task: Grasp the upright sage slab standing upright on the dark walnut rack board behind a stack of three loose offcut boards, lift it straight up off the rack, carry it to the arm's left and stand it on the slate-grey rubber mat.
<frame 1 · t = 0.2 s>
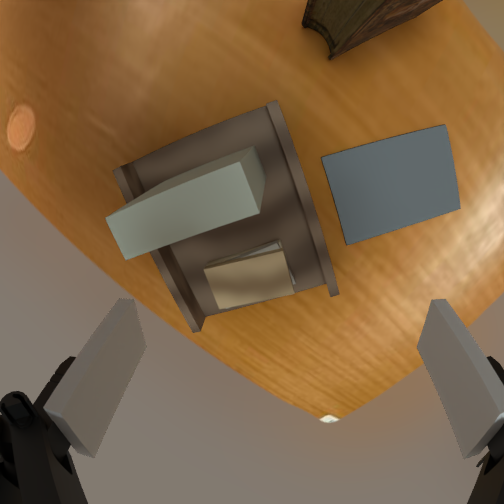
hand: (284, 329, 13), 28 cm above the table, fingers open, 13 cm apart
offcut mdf: (250, 274, 40), point 2 cm above the table, touching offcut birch, offcut oak
book: (365, 18, 28), on the table
upright sage slab: (213, 178, 37), point 1 cm above the table, touching rack
rack: (233, 219, 40), on the table
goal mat: (398, 183, 36), on the table
offcut oak: (249, 278, 40), point 3 cm above the table, touching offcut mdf
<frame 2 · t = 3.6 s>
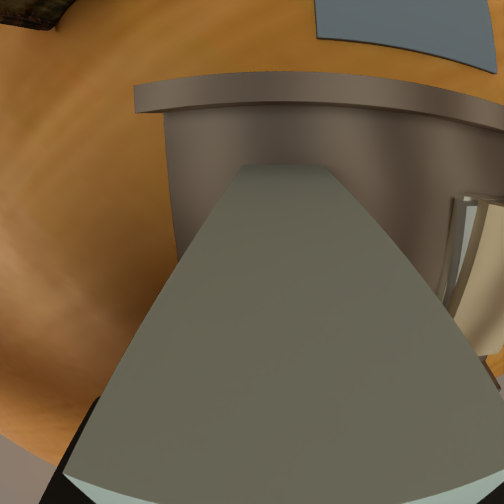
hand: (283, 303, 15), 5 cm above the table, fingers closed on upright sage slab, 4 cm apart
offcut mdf: (483, 276, 16), point 2 cm above the table, touching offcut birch, offcut oak
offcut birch: (476, 269, 17), point 1 cm above the table, touching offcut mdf, rack
upright sage slab: (283, 272, 18), point 1 cm above the table, touching gripper, rack
rack: (377, 260, 18), on the table
offcut oak: (491, 284, 15), point 3 cm above the table, touching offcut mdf
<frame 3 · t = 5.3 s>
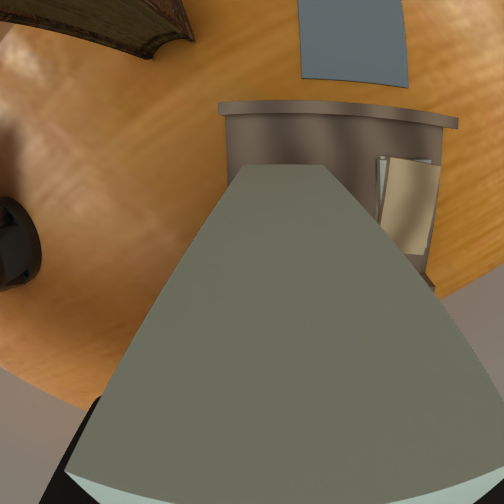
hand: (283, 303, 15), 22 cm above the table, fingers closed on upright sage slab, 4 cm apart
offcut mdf: (402, 203, 31), point 2 cm above the table, touching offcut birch, offcut oak
upright sage slab: (283, 272, 18), point 18 cm above the table, touching gripper
rack: (337, 195, 34), on the table
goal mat: (352, 9, 25), on the table
offcut oak: (406, 206, 30), point 3 cm above the table, touching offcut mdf
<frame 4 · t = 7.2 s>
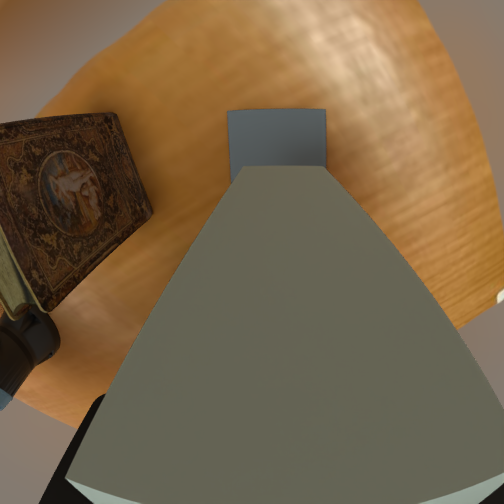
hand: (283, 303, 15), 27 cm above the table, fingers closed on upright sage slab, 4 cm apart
book: (118, 167, 40), on the table
upright sage slab: (283, 273, 18), point 24 cm above the table, touching gripper
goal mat: (278, 179, 39), on the table
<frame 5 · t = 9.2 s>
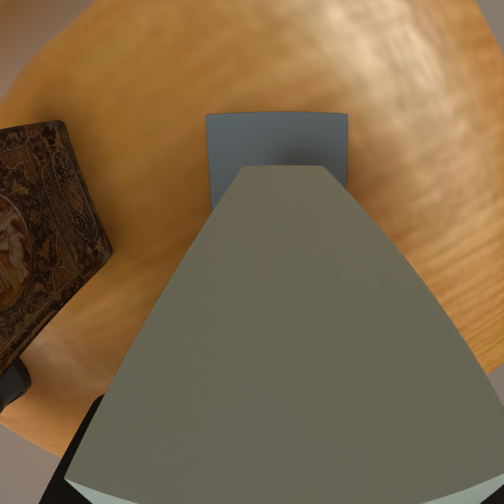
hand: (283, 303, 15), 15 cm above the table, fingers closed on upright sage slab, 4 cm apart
book: (68, 192, 29), on the table
upright sage slab: (283, 273, 18), point 12 cm above the table, touching gripper
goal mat: (278, 212, 28), on the table
when the fingers open (5 cm above the table, at t = 11.0 s): upright sage slab drops 1 cm, resting on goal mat.
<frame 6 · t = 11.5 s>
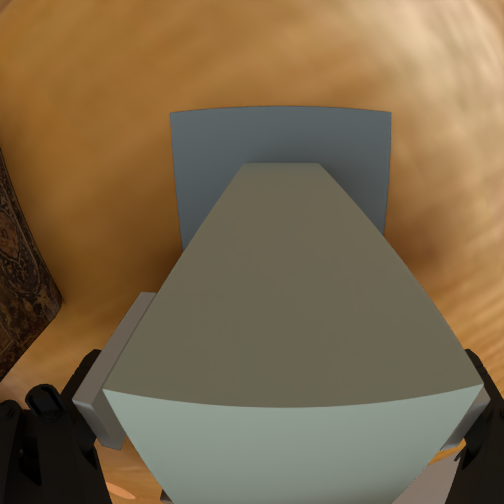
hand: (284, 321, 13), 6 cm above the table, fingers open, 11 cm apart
book: (7, 223, 20), on the table
upright sage slab: (281, 264, 19), resting on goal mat
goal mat: (282, 260, 19), on the table
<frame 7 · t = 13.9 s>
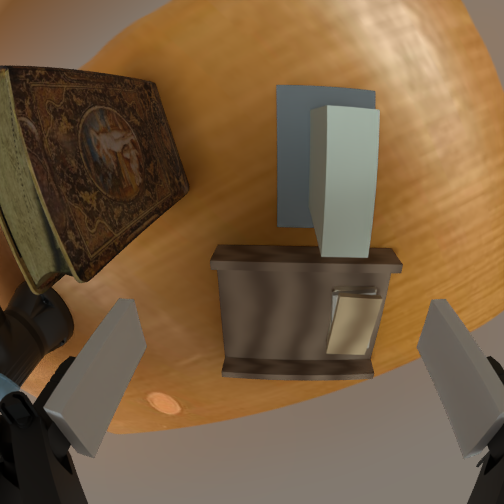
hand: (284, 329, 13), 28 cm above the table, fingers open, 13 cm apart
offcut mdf: (351, 319, 43), point 2 cm above the table, touching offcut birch, offcut oak
book: (153, 138, 38), on the table
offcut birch: (350, 315, 44), point 1 cm above the table, touching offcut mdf, rack
upright sage slab: (326, 159, 36), resting on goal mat
rack: (302, 309, 46), on the table
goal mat: (326, 158, 36), on the table
offcut oak: (352, 323, 42), point 3 cm above the table, touching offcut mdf
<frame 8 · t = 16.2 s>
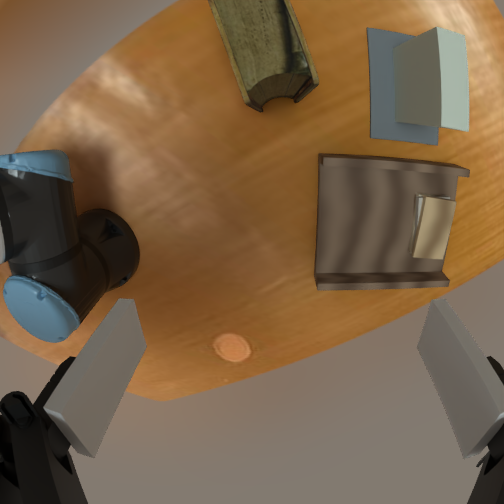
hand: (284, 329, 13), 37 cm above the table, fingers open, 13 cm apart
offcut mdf: (430, 225, 45), point 2 cm above the table, touching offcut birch, offcut oak
book: (262, 58, 39), on the table
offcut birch: (427, 223, 46), point 1 cm above the table, touching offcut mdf, rack
upright sage slab: (405, 86, 38), resting on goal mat
rack: (388, 219, 48), on the table
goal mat: (405, 86, 39), on the table
offcut oak: (432, 227, 44), point 3 cm above the table, touching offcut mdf
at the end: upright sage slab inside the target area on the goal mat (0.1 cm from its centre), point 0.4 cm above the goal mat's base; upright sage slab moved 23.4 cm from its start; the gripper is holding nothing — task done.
